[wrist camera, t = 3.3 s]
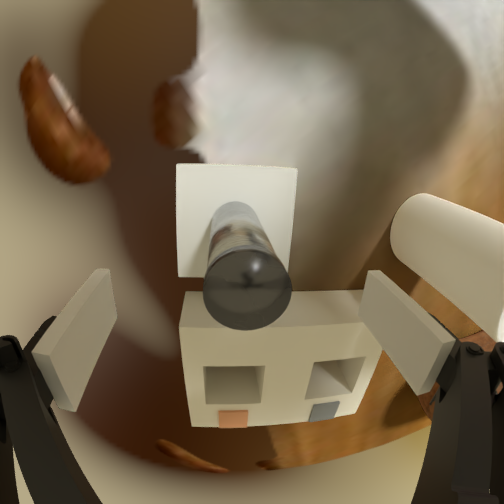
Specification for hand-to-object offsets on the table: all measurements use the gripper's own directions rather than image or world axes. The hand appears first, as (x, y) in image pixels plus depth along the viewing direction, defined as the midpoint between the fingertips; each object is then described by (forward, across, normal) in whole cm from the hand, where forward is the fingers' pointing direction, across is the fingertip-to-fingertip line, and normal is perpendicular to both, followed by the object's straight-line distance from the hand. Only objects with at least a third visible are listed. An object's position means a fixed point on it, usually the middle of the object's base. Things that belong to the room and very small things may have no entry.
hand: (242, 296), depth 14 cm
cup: (+13, +20, 0) cm, 24 cm away
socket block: (+13, +5, -14) cm, 19 cm away
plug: (+12, 0, 0) cm, 12 cm away
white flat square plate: (+13, 0, 0) cm, 13 cm away
